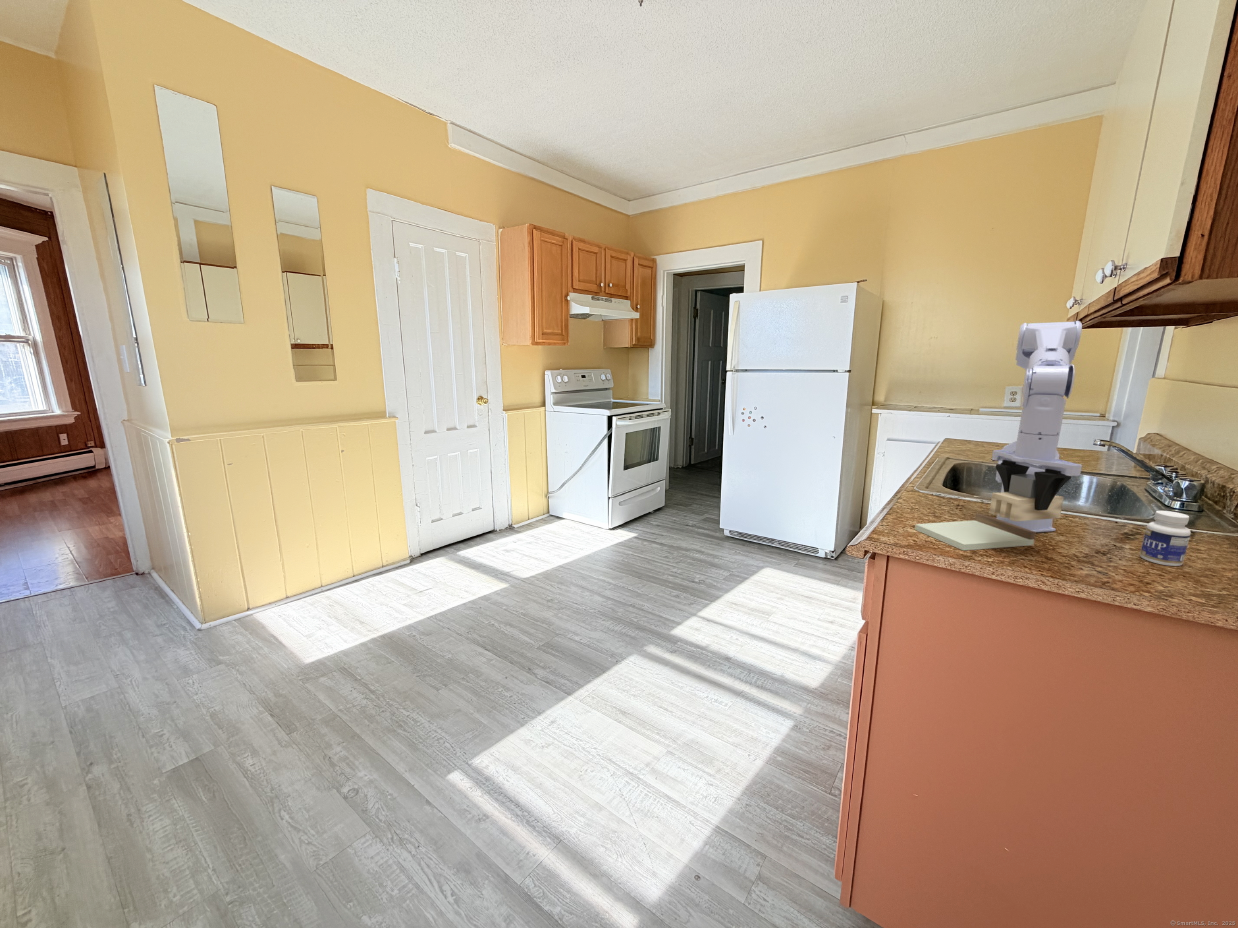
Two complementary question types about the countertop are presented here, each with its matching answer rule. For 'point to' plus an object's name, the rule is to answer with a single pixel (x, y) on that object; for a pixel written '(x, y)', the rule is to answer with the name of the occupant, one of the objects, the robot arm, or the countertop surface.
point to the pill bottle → (1166, 539)
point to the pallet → (1023, 507)
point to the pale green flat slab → (978, 533)
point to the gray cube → (1023, 485)
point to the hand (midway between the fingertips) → (1025, 505)
